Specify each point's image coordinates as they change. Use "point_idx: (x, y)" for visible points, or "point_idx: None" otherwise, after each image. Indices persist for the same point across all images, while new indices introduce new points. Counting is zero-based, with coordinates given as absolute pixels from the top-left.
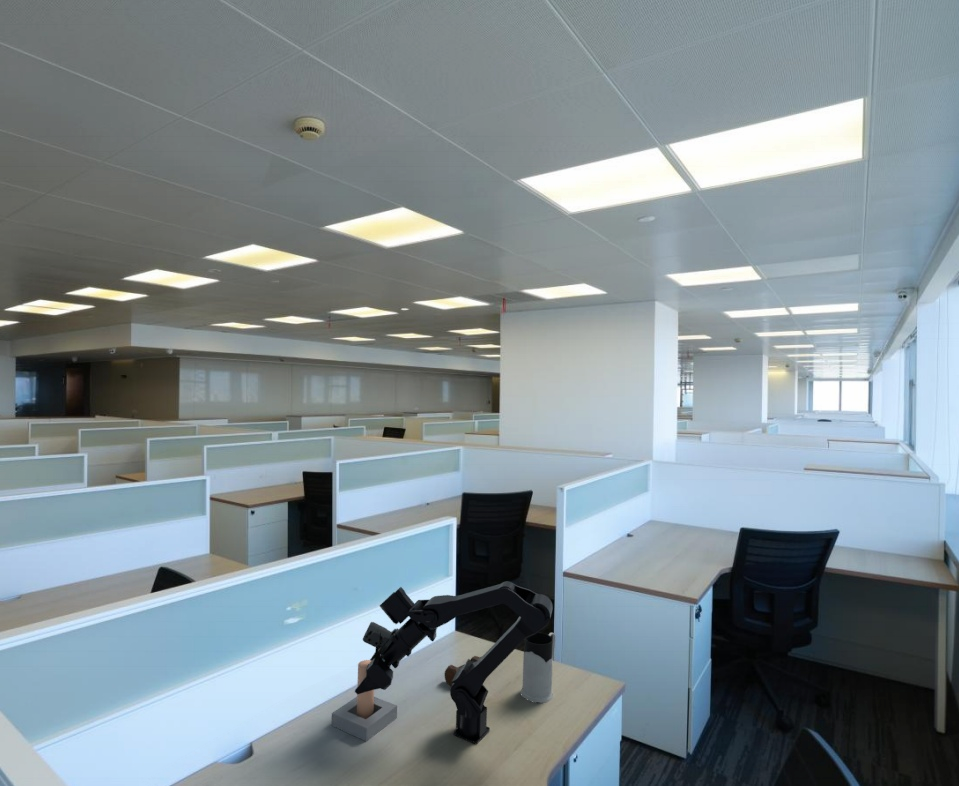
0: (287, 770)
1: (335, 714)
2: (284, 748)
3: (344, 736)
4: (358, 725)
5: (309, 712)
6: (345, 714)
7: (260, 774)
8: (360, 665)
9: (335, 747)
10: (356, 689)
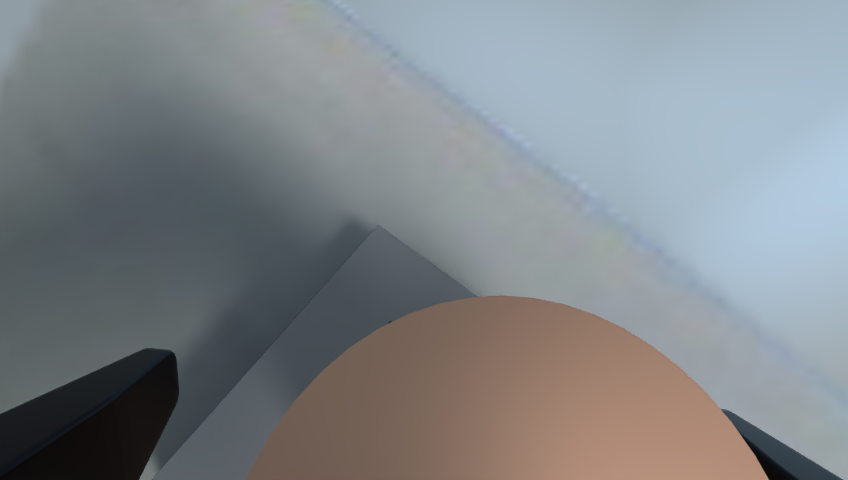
0: (44, 106)
1: (359, 248)
2: (222, 78)
3: (261, 339)
4: (195, 430)
5: (499, 141)
6: (350, 314)
7: (61, 21)
8: (430, 374)
9: (163, 299)
10: (101, 372)
